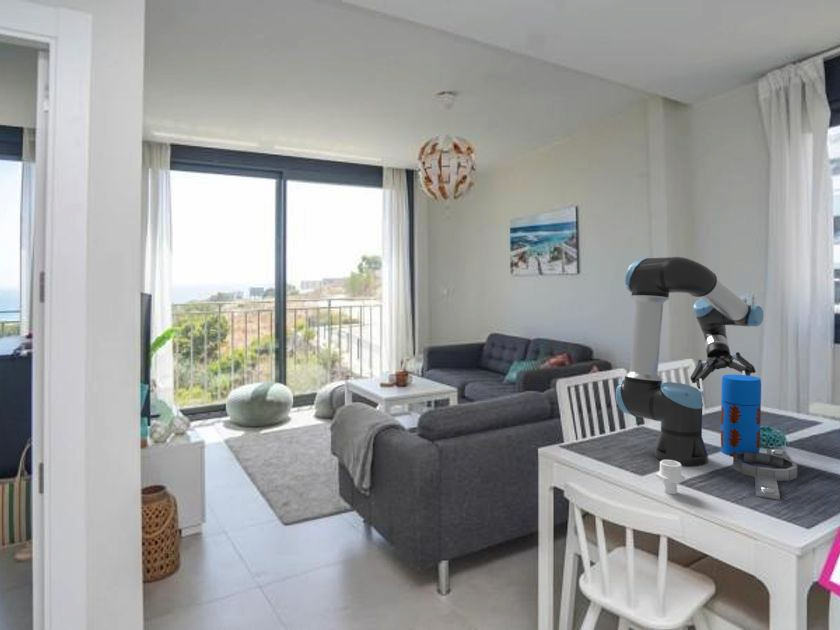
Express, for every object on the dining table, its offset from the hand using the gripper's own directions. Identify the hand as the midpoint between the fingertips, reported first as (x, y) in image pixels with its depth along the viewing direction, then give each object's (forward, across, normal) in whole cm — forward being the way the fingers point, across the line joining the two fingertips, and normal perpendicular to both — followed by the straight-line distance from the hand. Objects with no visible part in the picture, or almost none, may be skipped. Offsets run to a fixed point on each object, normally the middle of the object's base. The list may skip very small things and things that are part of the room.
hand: (724, 390), depth 174 cm
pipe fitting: (+53, +14, +20) cm, 58 cm away
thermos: (+19, 0, -10) cm, 22 cm away
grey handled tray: (+32, -6, -2) cm, 33 cm away
